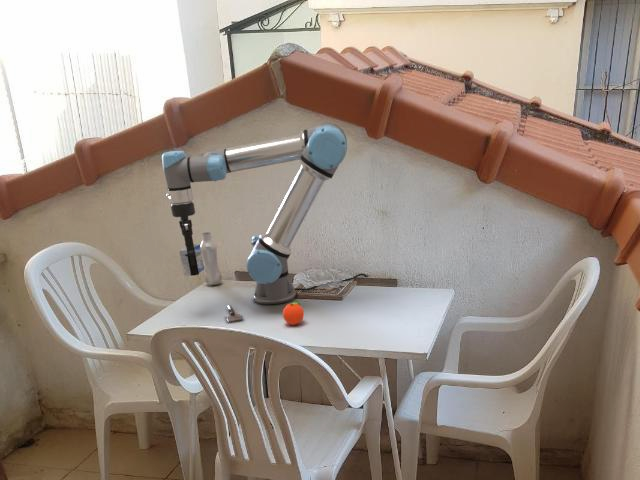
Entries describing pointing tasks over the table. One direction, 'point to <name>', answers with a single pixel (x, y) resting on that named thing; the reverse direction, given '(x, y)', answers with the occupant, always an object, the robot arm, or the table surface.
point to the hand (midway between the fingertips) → (194, 271)
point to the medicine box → (186, 264)
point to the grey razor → (233, 315)
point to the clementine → (293, 313)
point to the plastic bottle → (210, 260)
